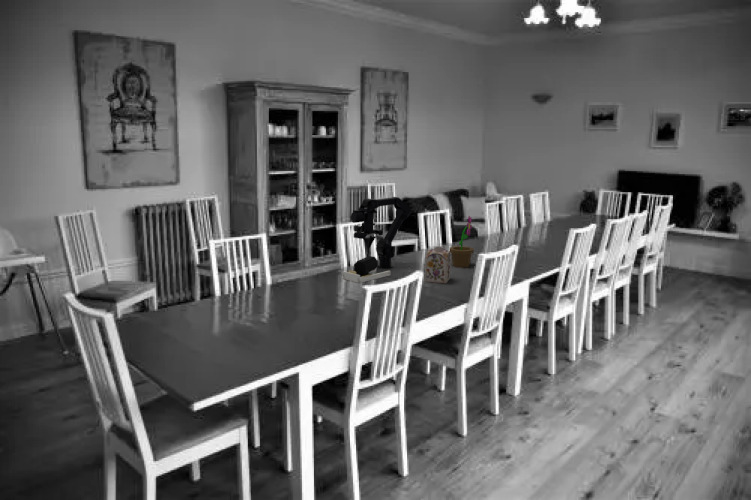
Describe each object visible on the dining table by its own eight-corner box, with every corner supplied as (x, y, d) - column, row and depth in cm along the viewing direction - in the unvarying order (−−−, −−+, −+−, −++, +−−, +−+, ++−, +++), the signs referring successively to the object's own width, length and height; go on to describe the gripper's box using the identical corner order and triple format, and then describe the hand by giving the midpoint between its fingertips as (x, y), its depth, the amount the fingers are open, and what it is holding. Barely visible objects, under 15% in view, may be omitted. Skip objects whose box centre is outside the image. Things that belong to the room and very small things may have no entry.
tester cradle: (374, 271, 325) (374, 262, 324) (390, 275, 317) (390, 266, 316) (342, 278, 309) (342, 269, 308) (358, 283, 300) (358, 273, 299)
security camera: (351, 280, 305) (351, 262, 303) (366, 273, 321) (367, 255, 319) (362, 282, 302) (363, 263, 300) (378, 274, 318) (378, 256, 316)
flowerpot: (470, 269, 334) (472, 217, 328) (445, 266, 339) (447, 215, 333) (475, 264, 347) (477, 214, 341) (452, 261, 352) (454, 212, 346)
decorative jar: (446, 284, 301) (447, 249, 298) (424, 282, 305) (425, 248, 301) (450, 278, 313) (451, 245, 309) (429, 276, 316) (430, 244, 312)
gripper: (369, 218, 335) (368, 244, 339) (346, 221, 322) (346, 249, 325) (383, 220, 328) (383, 247, 331) (361, 223, 314) (360, 252, 318)
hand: (368, 248), depth 326 cm, fingers closed
